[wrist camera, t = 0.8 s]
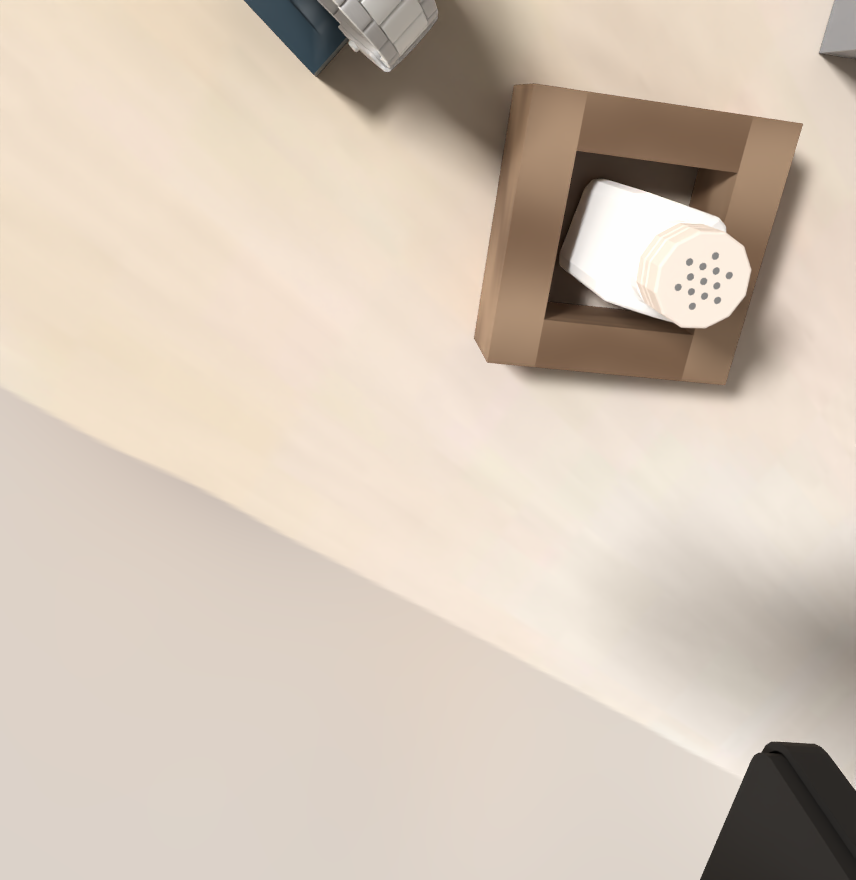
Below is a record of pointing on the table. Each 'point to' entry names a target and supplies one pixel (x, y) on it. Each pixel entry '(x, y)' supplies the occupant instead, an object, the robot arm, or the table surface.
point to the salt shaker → (655, 255)
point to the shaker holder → (542, 211)
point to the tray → (841, 30)
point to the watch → (348, 28)
